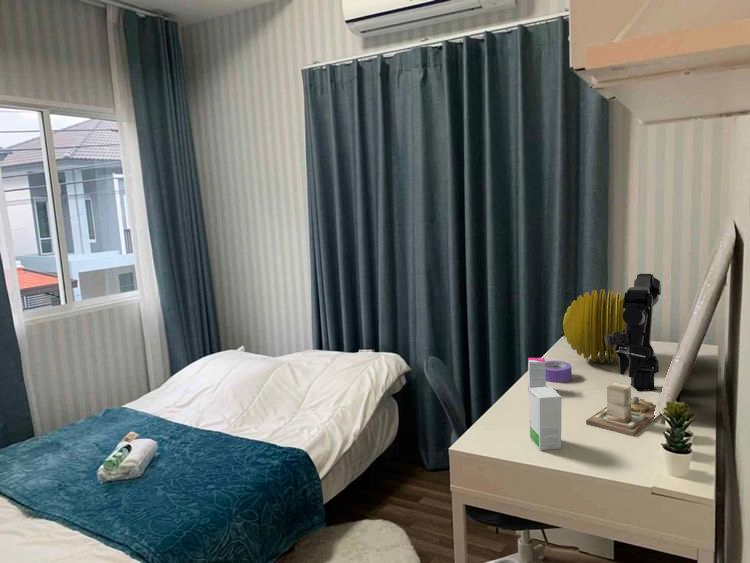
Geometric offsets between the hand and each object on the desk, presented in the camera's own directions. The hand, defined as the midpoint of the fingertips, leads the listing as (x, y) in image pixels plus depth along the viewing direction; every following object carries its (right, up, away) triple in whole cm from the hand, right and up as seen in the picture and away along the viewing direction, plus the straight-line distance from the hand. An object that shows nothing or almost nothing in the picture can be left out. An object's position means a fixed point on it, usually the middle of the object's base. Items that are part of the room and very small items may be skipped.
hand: (626, 375), depth 178 cm
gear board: (-3, -12, -6) cm, 13 cm away
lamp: (+12, -3, +48) cm, 50 cm away
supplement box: (-22, -9, +22) cm, 32 cm away
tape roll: (-11, -7, +34) cm, 37 cm away
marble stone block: (-6, -11, -10) cm, 16 cm away
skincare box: (-32, -16, -20) cm, 41 cm away
